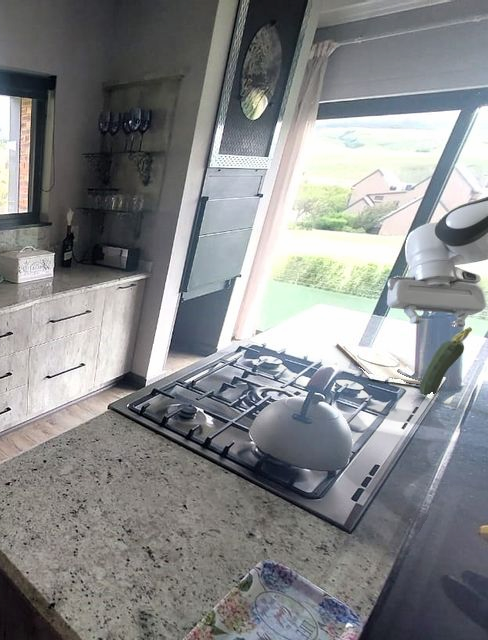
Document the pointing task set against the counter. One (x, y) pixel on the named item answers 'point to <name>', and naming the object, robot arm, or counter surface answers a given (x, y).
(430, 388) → the vegetable
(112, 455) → the counter surface
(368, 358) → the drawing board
